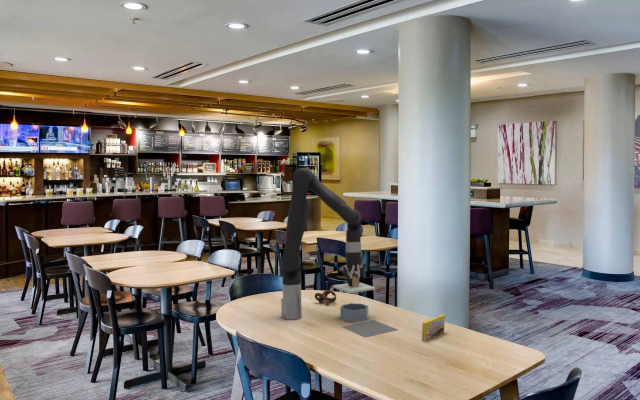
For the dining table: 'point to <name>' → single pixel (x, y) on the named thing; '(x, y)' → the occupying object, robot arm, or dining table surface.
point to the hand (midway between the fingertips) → (353, 285)
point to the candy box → (433, 327)
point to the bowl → (354, 312)
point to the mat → (369, 328)
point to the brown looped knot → (325, 297)
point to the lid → (354, 286)
